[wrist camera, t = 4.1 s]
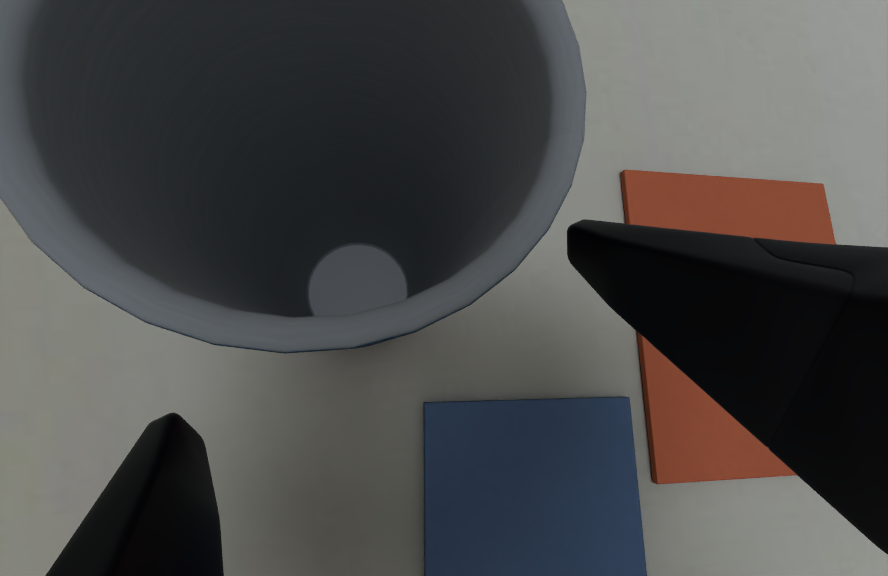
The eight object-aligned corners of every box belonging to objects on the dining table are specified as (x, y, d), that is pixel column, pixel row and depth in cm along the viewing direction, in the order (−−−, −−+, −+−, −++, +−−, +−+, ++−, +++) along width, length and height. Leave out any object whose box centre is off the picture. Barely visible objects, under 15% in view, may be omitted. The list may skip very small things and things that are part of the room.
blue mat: (647, 627, 18) (652, 633, 18) (424, 656, 17) (425, 662, 16) (624, 396, 20) (629, 396, 20) (423, 402, 19) (424, 402, 18)
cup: (262, 348, 18) (-191, 256, 4) (306, 207, 20) (115, -256, 5) (413, 381, 19) (543, 417, 4) (444, 243, 20) (617, -70, 6)
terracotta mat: (873, 467, 22) (882, 469, 22) (652, 482, 20) (657, 484, 19) (816, 186, 25) (823, 183, 25) (619, 172, 23) (624, 169, 23)
